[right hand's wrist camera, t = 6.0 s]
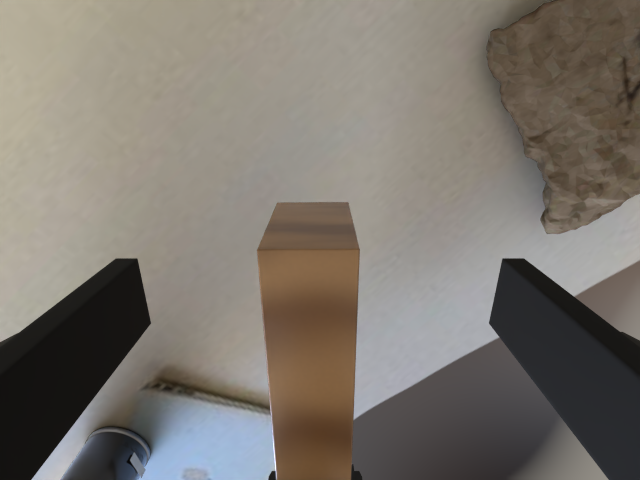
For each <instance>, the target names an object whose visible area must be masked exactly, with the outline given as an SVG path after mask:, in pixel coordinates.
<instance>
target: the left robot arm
mask: <svg viewBox="0 0 640 480" xmlns="http://www.w3.org/2000/svg"><path fill="white" fill-rule="evenodd" d="M149 458H150V449H149V447H148V445H147V443H146V442H145V441H144V440H143V439H142V438H141V437H140V436H138V435H137V434H135V433H133V432H131V431H129V430H126V429H122V428H117V427H106V428H101V429H98V430H96V431H94V432H93V433H92V434H91V435H90V436H89V437H88V439H87V440H86V442H85V445H84V446H83V448H82V449H81V450H80V452H79V453H78V455H77V456H76V458H75V459H74V461H73V462H72V463H71V465H70V466H69V468H68V469H67V471H66V472H65V474H64V475H63V477H62V478H61V479H60V480H138V479H139V477H141V478H142V476H143V474H144V472H145V468H144V467H145V466H146V464H147V462H148V460H149ZM269 480H276V471H272V472H271V474H270V476H269ZM351 480H362V476H361V474H360V472H359V471H354V466H353V464H352V467H351Z"/></svg>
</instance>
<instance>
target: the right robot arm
mask: <svg viewBox="0 0 640 480" xmlns="http://www.w3.org/2000/svg"><path fill="white" fill-rule="evenodd" d="M150 324H151V321H150V316H149V312H148V307H147V302H146V297H145V293H144V288H143V283H142V278H141V273H140V269H139V264H138V259H115V260H114V261H112V262H111V263H110V264H108V265H107V266H106V267H104V268H103V269H102V270H100V271H99V272H98V273H97V274H95V275H94V276H93V277H91V278H90V279H89V280H87V281H86V282H85V283H83V284H82V285H81V286H80V287H78V288H77V289H76V290H74V291H73V292H72V293H70V294H69V295H68V296H66V297H65V298H64V299H63V300H61V301H60V302H59V303H57V304H56V305H55V306H53V307H52V308H51V309H49V310H48V311H47V312H46V313H44V314H43V315H42V316H40V317H39V318H38V319H36V320H35V321H34V322H32V323H31V324H30V325H29V326H27V327H26V328H25V329H23V330H22V331H21V332H19V333H17V334H15V335H13V336H11V337H9V338H8V339H6V340H4V341H2V342H0V480H31V479H32V478H33V477H34V475H35V474H36V473H37V471H38V470H39V469H40V467H41V466H42V465H43V464H44V462H45V461H46V460H47V458H48V457H49V456H50V454H51V453H52V452H53V450H54V449H55V448H56V447H57V445H58V444H59V443H60V441H61V440H62V439H63V437H64V436H65V435H66V434H67V432H68V431H69V430H70V428H71V427H72V426H73V424H74V423H75V422H76V420H77V419H78V418H79V417H80V415H81V414H82V413H83V411H84V410H85V409H86V407H87V406H88V405H89V403H90V402H91V401H92V400H93V398H94V397H95V396H96V394H97V393H98V392H99V390H100V389H101V388H102V387H103V385H104V384H105V383H106V381H107V380H108V379H109V377H110V376H111V375H112V373H113V372H114V371H115V370H116V368H117V367H118V366H119V364H120V363H121V362H122V360H123V359H124V358H125V356H126V355H127V354H128V353H129V351H130V350H131V349H132V347H133V346H134V345H135V343H136V342H137V341H138V340H139V338H140V337H141V336H142V334H143V333H144V332H145V330H146V329H147V328H148V326H149V325H150ZM489 324H490V325H491V326H492V328H493V329H494V330H495V332H496V333H497V334H498V336H499V337H500V338H501V339H502V341H503V342H504V343H505V345H506V346H507V347H508V349H509V350H510V351H511V353H512V354H513V355H514V356H515V358H516V359H517V360H518V362H519V363H520V364H521V366H522V367H523V368H524V370H525V371H526V372H527V373H528V375H529V376H530V377H531V379H532V380H533V381H534V383H535V384H536V385H537V387H538V388H539V389H540V390H541V392H542V393H543V394H544V396H545V397H546V398H547V400H548V401H549V402H550V403H551V405H552V406H553V407H554V409H555V410H556V411H557V413H558V414H559V415H560V417H561V418H562V419H563V420H564V422H565V423H566V424H567V426H568V427H569V428H570V430H571V431H572V432H573V434H574V435H575V436H576V437H577V439H578V440H579V441H580V443H581V444H582V445H583V447H584V448H585V449H586V450H587V452H588V453H589V454H590V456H591V457H592V458H593V460H594V461H595V462H596V463H597V465H598V466H599V467H600V469H601V470H602V471H603V473H604V474H605V475H606V477H607V478H608V479H609V480H640V341H639V340H637V339H635V338H633V337H632V336H630V335H628V334H626V333H624V332H619V331H618V330H617V329H615V328H614V327H613V326H611V325H610V324H609V323H608V322H606V321H605V320H604V319H602V318H601V317H600V316H598V315H597V314H596V313H594V312H593V311H592V310H591V309H589V308H588V307H587V306H585V305H584V304H583V303H581V302H580V301H579V300H577V299H576V298H575V297H574V296H572V295H571V294H570V293H568V292H567V291H566V290H564V289H563V288H562V287H560V286H559V285H558V284H557V283H555V282H554V281H553V280H551V279H550V278H549V277H547V276H546V275H545V274H543V273H542V272H541V271H540V270H538V269H537V268H536V267H534V266H533V265H532V264H530V263H529V262H528V261H526V260H525V259H502V264H501V269H500V273H499V278H498V283H497V288H496V293H495V297H494V302H493V307H492V312H491V316H490V321H489Z"/></svg>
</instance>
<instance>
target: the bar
mask: <svg viewBox="0 0 640 480" xmlns="http://www.w3.org/2000/svg"><path fill="white" fill-rule="evenodd" d="M359 254H360V249H359V245H358V241H357V237H356V233H355V228H354V224H353V220H352V216H351V212H350V208H349V204H348V202H315V203H277V205H276V207H275V209H274V212H273V214H272V216H271V219H270V221H269V223H268V226H267V228H266V230H265V233H264V235H263V237H262V240H261V242H260V244H259V247H258V249H257V255H258V267H259V279H260V291H261V303H262V315H263V327H264V339H265V350H266V362H267V374H268V386H269V398H270V410H271V422H272V434H273V445H274V457H275V469H276V480H351V467H352V440H353V414H354V387H355V361H356V334H357V307H358V281H359Z"/></svg>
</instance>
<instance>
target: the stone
mask: <svg viewBox="0 0 640 480" xmlns="http://www.w3.org/2000/svg"><path fill="white" fill-rule="evenodd" d="M487 51H488V54H487V60H488V66H489V69H490V71H491V72H492V74H493V77H494V78H495V79H496V80H497V81H498V82H499V83H500V84H501V85H500V93H501V102H502V104H503V105H504V107H505V109H506V110H507V111H508V112H509V113H510V114H511V116H512V118H513V120H514V122H515V123H516V125H517V126H518V130H519V132H520V134H521V135H522V138H523V145H524V153H525V155H526V157H527V158H531V159H533V160H535V161H536V162H538V168H539V169H540V171H541V172H542V175H543V180H544V181H545V182H546V185H545V188H544V191H543V201H544V204H545V206H546V208H545V210H544V212H543V214H542V216H541V219H540V220H541V223H542V225H543V226H544V229H545V231H546V233H547V234H560V233H564V232H566V231H569V230H575V229H578V228H579V227H581V226H584V225H588V224H589V223H591V222H593V221H594V220H596V219H598V218H600V217H601V216H602V215H604V214H606V213H609V212H611V211H613V210H614V209H616V208H618V207H620V206H621V205H622V204H623V203H624V202H625V201H626V200H627V199H629V198H631V197H633V196H635V195H638V194H640V0H555V1H552V2H548V3H545V4H543V5H541V6H540V7H539V8H538V9H537V10H536V11H534V12H532V13H530V14H528V15H526V16H524V17H522V18H521V19H520V20H519V21H517V22H515V23H513V24H511V25H510V26H508V27H507V28H505V29H495V30H493V31H491V33H490V36H489V41H488V44H487Z"/></svg>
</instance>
